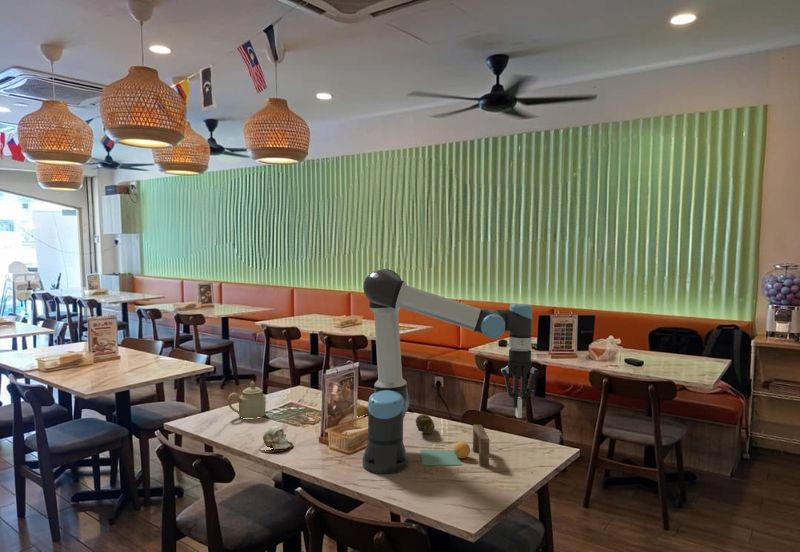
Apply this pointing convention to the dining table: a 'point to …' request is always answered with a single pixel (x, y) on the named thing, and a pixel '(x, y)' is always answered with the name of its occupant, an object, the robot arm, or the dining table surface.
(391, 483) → the dining table surface
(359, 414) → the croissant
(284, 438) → the skull
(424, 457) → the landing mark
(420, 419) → the dark green avocado
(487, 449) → the bridge
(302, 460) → the dining table surface
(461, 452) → the ball
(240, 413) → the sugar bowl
